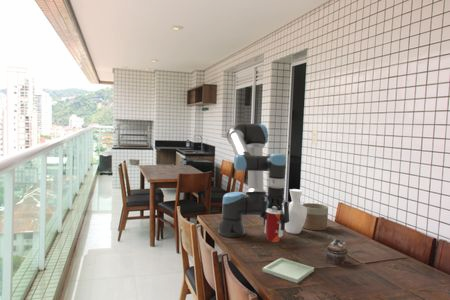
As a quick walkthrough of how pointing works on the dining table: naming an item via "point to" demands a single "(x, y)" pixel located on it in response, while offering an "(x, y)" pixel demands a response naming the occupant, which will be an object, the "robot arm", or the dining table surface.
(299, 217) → the vase
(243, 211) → the robot arm
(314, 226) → the planter
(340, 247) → the cupcake
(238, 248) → the dining table surface
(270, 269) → the tray
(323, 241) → the dining table surface
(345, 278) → the dining table surface
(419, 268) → the dining table surface
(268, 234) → the coffee cup
